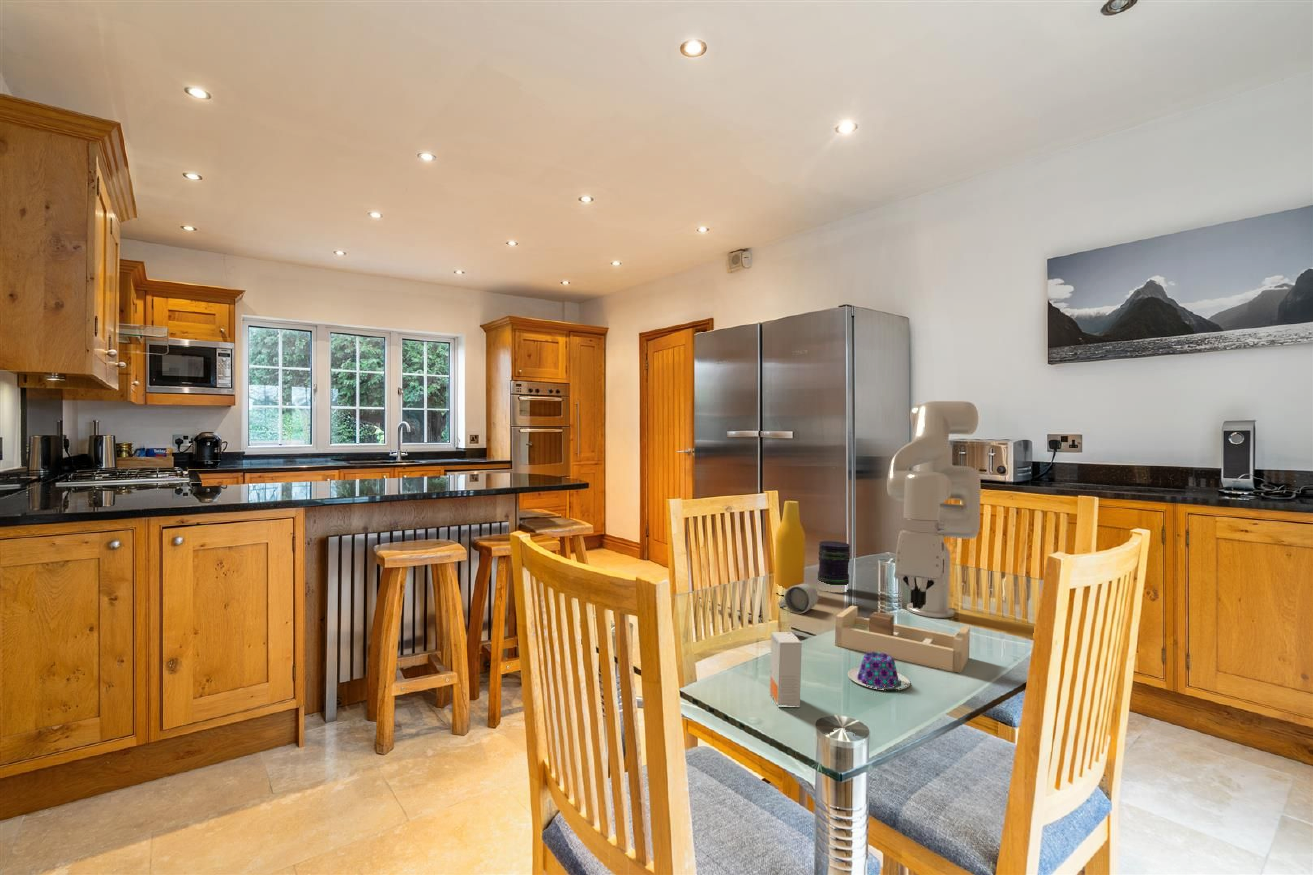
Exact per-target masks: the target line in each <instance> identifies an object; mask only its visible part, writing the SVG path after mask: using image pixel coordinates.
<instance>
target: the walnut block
mask: <svg viewBox="0 0 1313 875" xmlns="http://www.w3.org/2000/svg"><path fill="white" fill-rule="evenodd" d="M868 619H869V632H874V633H879V634H884V635H889V636H892V635H893V634H894V624H895V615H894V614H890V613H884V612H878V611H874V612H873V613H871V614H870V615H869V617H868Z"/></svg>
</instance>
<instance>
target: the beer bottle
mask: <svg viewBox="0 0 1313 875" xmlns="http://www.w3.org/2000/svg"><path fill="white" fill-rule="evenodd" d="M783 504H784V505H783V513H782V519H781V522H780V523H779V525H778V528H777V530H776V533H775V534H776V535H775V547H774V548H775V549H774V550H775V551H774V552H775V554H774V555H775V556H774V579H773V581H774V582H775V583H776V584H778V585H779V586H782V587H783V588H785V589H789V588H790V587H792V586H796V585H800V584H805V562H806V560H805V559H806V533H805V530H804V527H803V526H802V523H801V519H800V506H799V501H797V500H795V501H794V500H785V501H784V503H783ZM774 582H773V583H774Z"/></svg>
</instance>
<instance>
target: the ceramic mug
mask: <svg viewBox="0 0 1313 875" xmlns="http://www.w3.org/2000/svg"><path fill="white" fill-rule="evenodd" d="M783 597H784V599H783V600H780V601H778V603H777V604H778V607H779V608H783V607H786V608H787V609H788V610H789V611H790V612H791V613H794V614H797V615H799V614H800V615H801V614H804V613H806V612H808V611H809V610H811V609H814V607H815V606H816V605H817V603H818V601H819V594H818V591H817V590H816V589H815V587H814V586H812V585H810V584H808V583H804V584H800V585H796V586H792V587H790V588H789V589H788V590H787V591H786V593H785V596H783Z"/></svg>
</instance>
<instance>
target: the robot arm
mask: <svg viewBox="0 0 1313 875" xmlns="http://www.w3.org/2000/svg"><path fill="white" fill-rule="evenodd" d="M909 419H910V423H911V428H912V431H913V434H912V441H910V442H908V443H907V444H905V445H904V446H902V447H901V448H900V449H899V450H898V451H897V452H896V453H895V454H894V456H893V457H892V459H891V461H890V464H889V467H888V472H887V473H888V474H887V480H886V491H887V495H888V496H889V497H890V499H892V500H894V501H897V502H903V519H902V520H903V521H902V522H903V524H902V530H899V534H898V539H897V543H896V551H895V558H894V559H895V560H894V573H893V574H894V575H893V577H894V578H895V579H898V580H900V581H903V582H904V583H905V584H906V585H907V586H908V589H909V590H910V602H909V603H907V604H906V610H908V612H911V613H913V614H915V615H918V616H923V617H929V618H937V619H938V618H939V619H940V618H941V619H942V618H943V619H945V618H946V619H947V618H951V617H954V616H955V610H954V609H953V608H951V607H949V603H950V602H949V601H950V579H951V578H950V576H951V575H950V573H951V552H950V549H949V547H948V546H947V544H946V543H945V541H944V538H954V539H955V538H956V539H957V538H958V539H965V540H968V539H970V540H971V539H975V538H976V537H977V536H978V535H979V532H980V526H981V525H980V524H981V494H982V493H981V490H982V489H981V476H980V473H979V471H978V470H977V469H976V468H974V467H971V466H967V465H966V466H965V465H954V464H952V463H953V462H952V460H953V459H952V458H953V448H952V445H951V443H949V438H950V435H964V436H965V435H973V434H974V433H976V430H977V428H978V425H979V412H978V409H977V407H976V406H975V404H974V403H972V402H970V401H964V400H963V401H962V400H960V401H959V400H956V401H955V400H954V401H953V400H949V401H947V400H941V401H940V400H937V401H936V400H935V401H933V400H932V401H928V402H927V401H926V402H923V404H918V405H915V406H913V407H912V408H911V410H910V413H909ZM915 466H919V470H908V469H910V468H913V467H915ZM949 499H951V500H959V501H961V502H962V504H958V503H946V502H947V500H949Z"/></svg>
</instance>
